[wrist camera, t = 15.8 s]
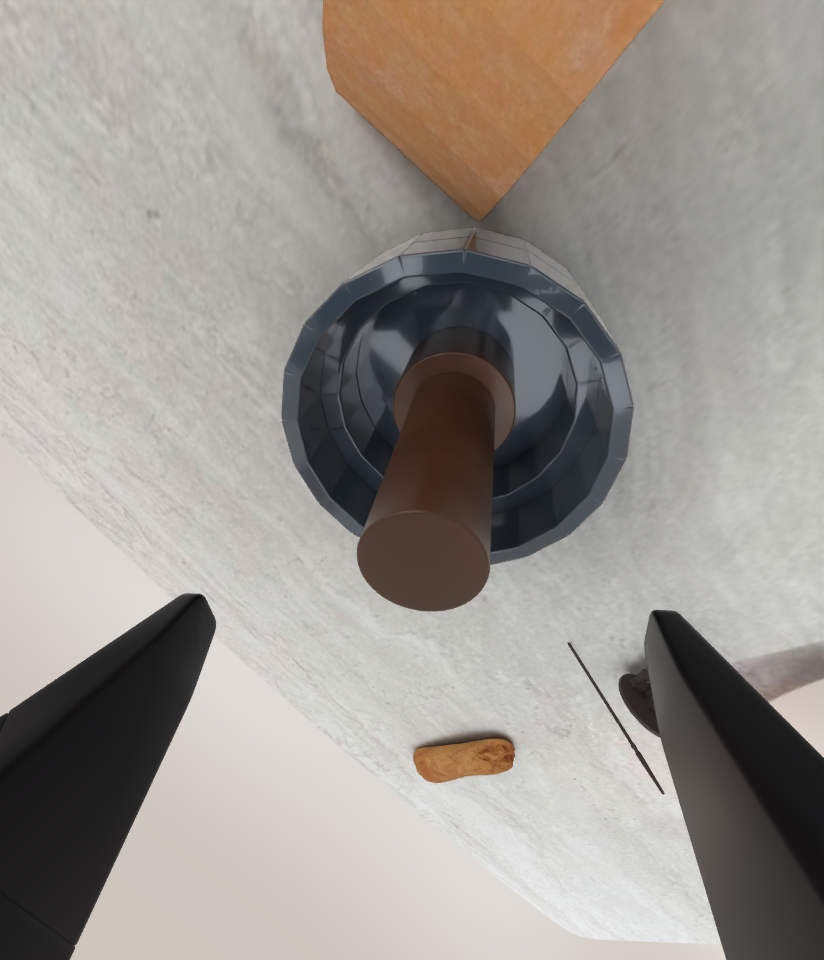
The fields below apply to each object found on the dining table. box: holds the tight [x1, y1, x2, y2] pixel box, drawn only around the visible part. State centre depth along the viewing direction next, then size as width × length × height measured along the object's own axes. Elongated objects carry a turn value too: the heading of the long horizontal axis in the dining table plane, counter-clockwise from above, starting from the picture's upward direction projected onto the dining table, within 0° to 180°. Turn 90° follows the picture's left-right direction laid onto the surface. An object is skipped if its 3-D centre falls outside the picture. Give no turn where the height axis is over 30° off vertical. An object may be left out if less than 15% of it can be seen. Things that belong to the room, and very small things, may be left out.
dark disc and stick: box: [568, 643, 665, 794], centre depth 26 cm, size 5×8×4 cm
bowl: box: [282, 228, 634, 565], centre depth 18 cm, size 11×11×6 cm
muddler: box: [357, 327, 516, 611], centre depth 16 cm, size 4×4×11 cm
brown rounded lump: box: [413, 739, 515, 783], centre depth 35 cm, size 8×2×5 cm
